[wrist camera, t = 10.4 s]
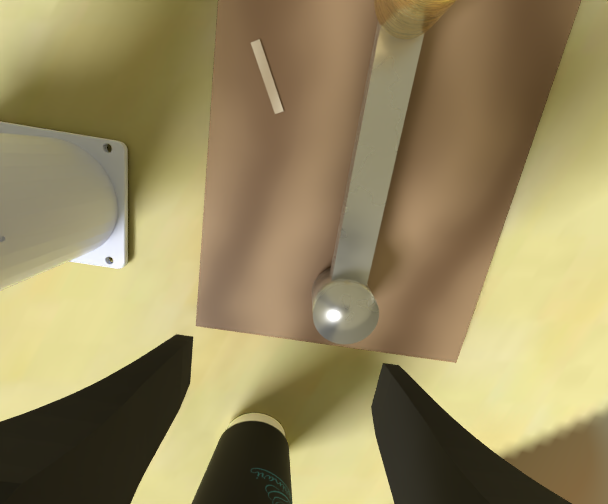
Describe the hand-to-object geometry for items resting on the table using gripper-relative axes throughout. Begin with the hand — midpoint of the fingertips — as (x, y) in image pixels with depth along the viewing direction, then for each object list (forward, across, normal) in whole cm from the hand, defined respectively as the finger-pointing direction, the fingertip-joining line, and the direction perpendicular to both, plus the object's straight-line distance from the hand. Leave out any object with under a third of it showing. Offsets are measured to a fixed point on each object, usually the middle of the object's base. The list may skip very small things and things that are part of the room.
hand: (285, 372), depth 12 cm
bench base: (+10, -3, -7) cm, 12 cm away
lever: (+8, -3, -7) cm, 12 cm away
